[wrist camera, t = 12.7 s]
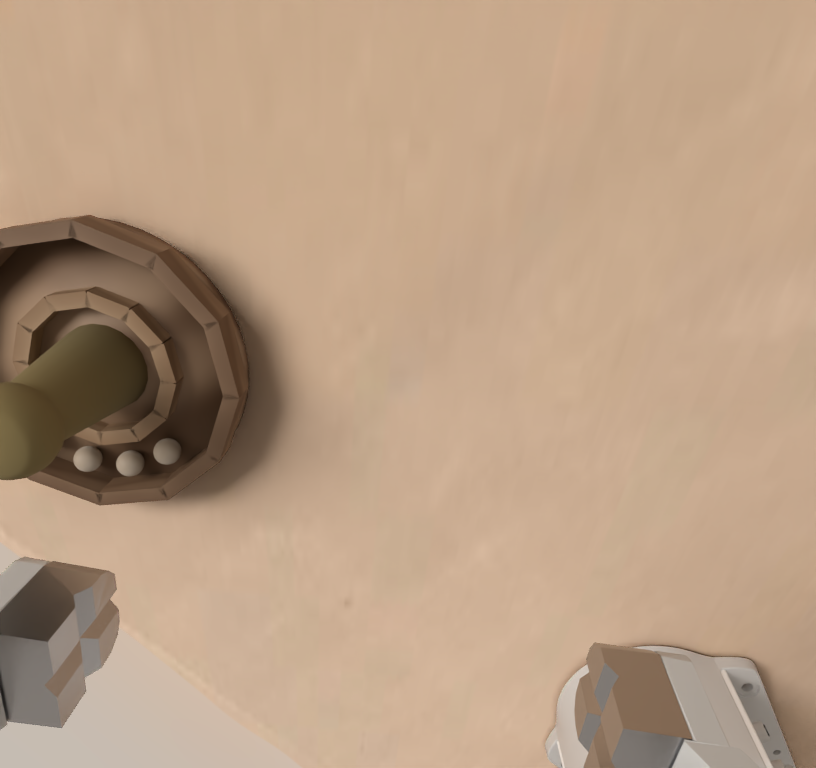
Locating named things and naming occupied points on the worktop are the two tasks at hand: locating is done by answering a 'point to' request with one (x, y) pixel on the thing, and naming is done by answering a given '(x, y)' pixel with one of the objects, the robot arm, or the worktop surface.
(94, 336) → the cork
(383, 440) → the worktop surface
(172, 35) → the worktop surface
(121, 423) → the tray
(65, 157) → the worktop surface
